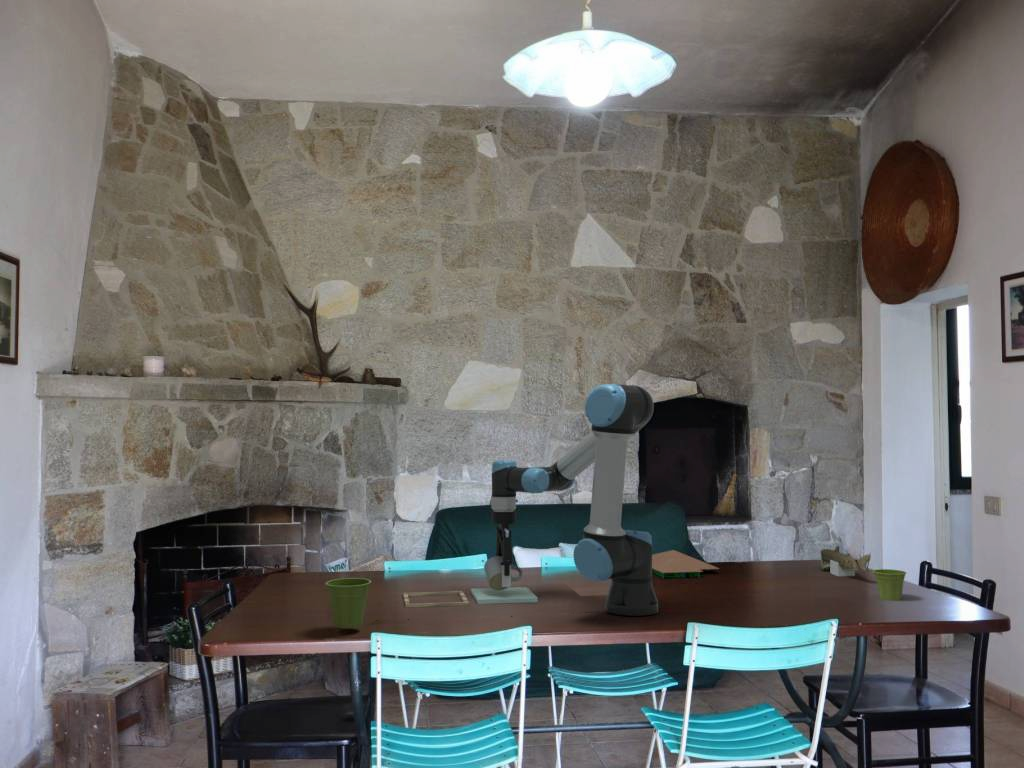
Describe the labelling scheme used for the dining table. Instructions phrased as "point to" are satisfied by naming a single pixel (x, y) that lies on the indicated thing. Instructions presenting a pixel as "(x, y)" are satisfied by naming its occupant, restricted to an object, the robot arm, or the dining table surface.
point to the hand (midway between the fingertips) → (503, 583)
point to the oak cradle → (407, 604)
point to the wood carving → (843, 562)
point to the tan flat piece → (677, 564)
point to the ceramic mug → (498, 572)
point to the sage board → (503, 595)
